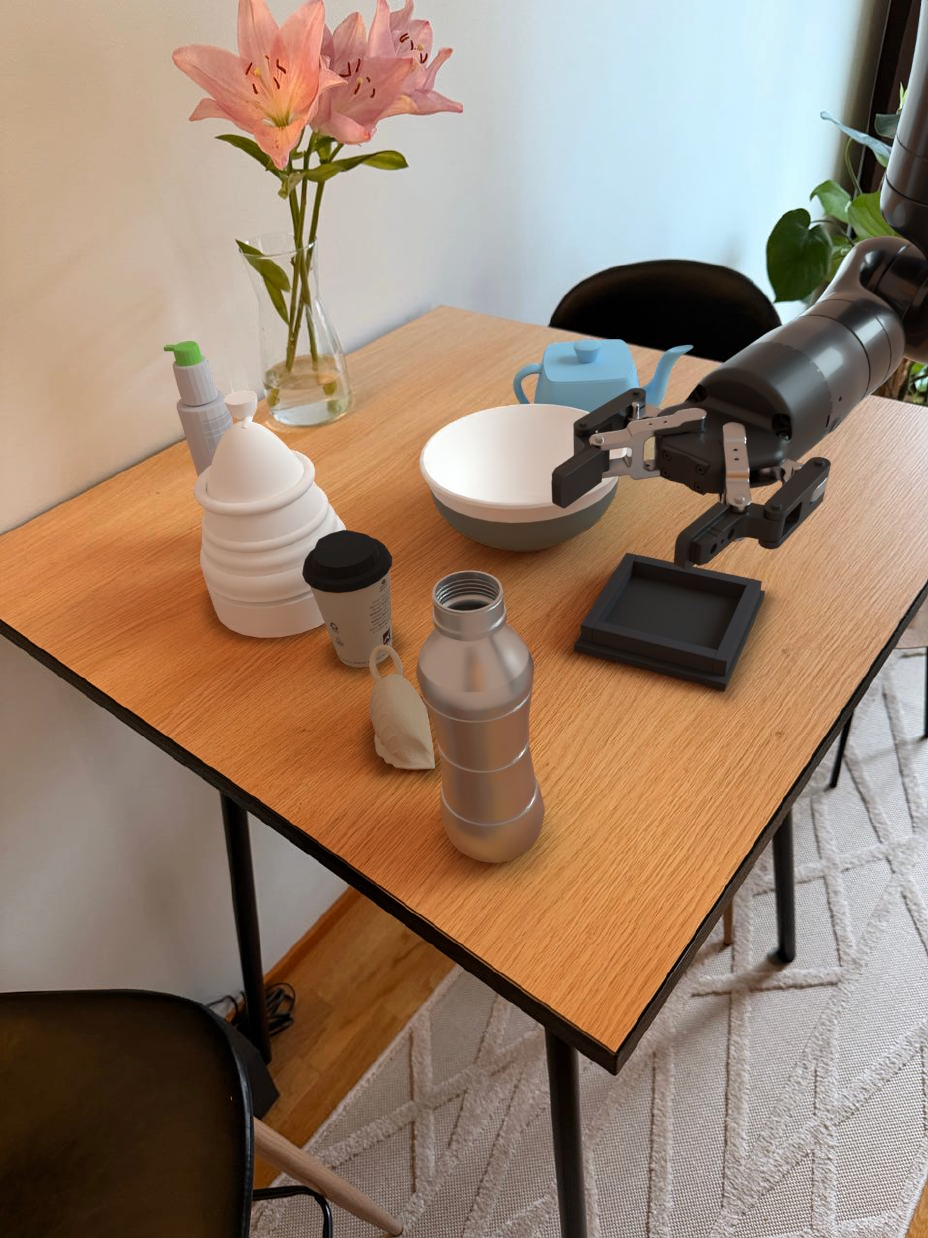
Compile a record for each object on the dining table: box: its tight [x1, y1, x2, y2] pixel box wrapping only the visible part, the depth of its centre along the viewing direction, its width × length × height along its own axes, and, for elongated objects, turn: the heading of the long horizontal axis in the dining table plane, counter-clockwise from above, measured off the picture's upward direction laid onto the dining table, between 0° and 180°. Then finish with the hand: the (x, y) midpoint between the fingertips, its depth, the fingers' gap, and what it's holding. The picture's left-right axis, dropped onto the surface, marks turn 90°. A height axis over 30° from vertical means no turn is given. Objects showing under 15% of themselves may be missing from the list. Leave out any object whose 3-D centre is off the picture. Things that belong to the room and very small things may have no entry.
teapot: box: [512, 338, 694, 413], centre depth 94 cm, size 12×18×12 cm
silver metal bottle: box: [415, 570, 546, 864], centre depth 53 cm, size 6×7×20 cm
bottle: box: [163, 340, 235, 478], centre depth 82 cm, size 4×4×20 cm
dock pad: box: [573, 552, 766, 692], centre depth 73 cm, size 12×12×2 cm
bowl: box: [418, 403, 627, 553], centre depth 84 cm, size 19×19×8 cm
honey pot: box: [193, 389, 347, 639], centre depth 76 cm, size 13×13×18 cm
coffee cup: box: [302, 529, 393, 668], centre depth 71 cm, size 7×7×10 cm
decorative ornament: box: [368, 645, 436, 770], centre depth 65 cm, size 4×8×5 cm, turn 6°
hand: (615, 523), depth 49 cm, fingers open, 8 cm apart
